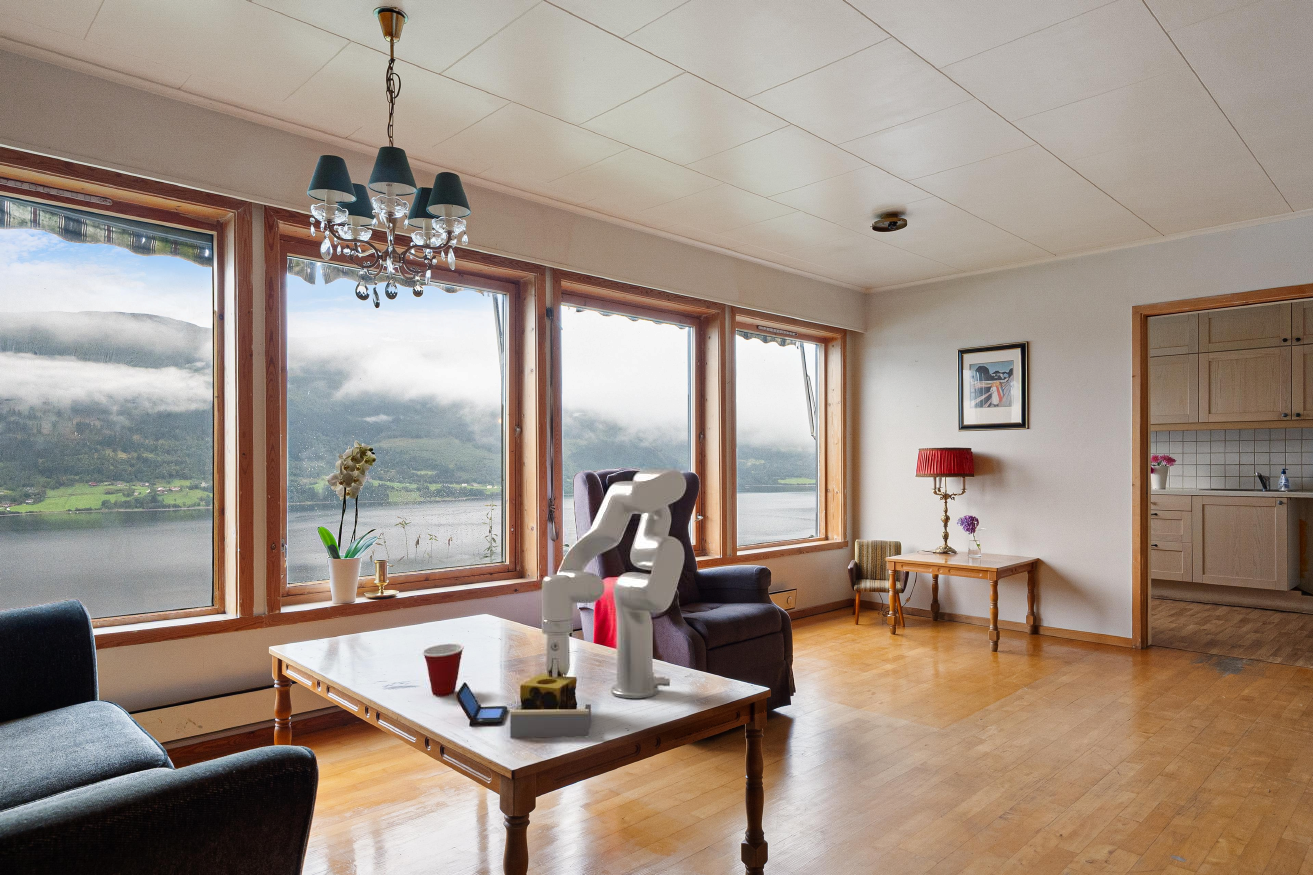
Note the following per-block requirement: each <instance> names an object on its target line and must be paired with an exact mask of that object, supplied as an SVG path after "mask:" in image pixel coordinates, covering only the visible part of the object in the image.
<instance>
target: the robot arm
mask: <svg viewBox="0 0 1313 875" xmlns="http://www.w3.org/2000/svg"><path fill="white" fill-rule="evenodd" d="M686 489H687V480H686V478H685V476H684V474H683V473H681V471H678V470H676V469H668V468H667V469H659V468H657V469H653V468H652V469H643V470H640V471H638V472H636V473H635V475H634V476H633V478H632V480H629V481H628V480H625V481H624V480H623V481H616V482H614V483H612V484H611V485H610V487H609V488H608V489H607V492H606V494H605V495H604V498H603V500H602V501H601V504H600V506H599V509H598V511H597V514H596V515H595V518H594V520H593V522H592V523H591V526H590V527H589V530H587V532H586V533H585V534H583V535H582V536H581V537H579V539H578V540H577V541H576V542H575V543H574V544H573V545H572V546H571V547H570V549H568V551H567V552H566V554H565V555H564V557H563V558H562V561H561V562H560V565H559V568H558V569H557V572H556V574H550V575H549V574H548V575H546V576H544V577H543V579H542V582H541V601H542V602H541V633H542V634H544V635H546V642H545V644H546V645H545V646H546V648H545V649H546V650H545V652H546V653H545V654H546V655H545V660H546V661H545V663H546V664H545V665H546V675H548V676H549V675H552V677H558V676H567V675H568V674H569V671H570V668H571V666H570V665H571V662H570V661H571V660H570V656H571V655H570V634H572V633H573V630H574V624H573V623H574V622H573V621H574V620H573V618H574V613H573V612H574V604H575V603H576V604H592V603H596V602H597V601H598V600H600V599H601V598H602V597H603V595H604V593H605V588H606V586H605V583H604V580H603V579H602V577H601V576H599V575H598V574H596V573H594V572H589V571H585V570H586V568H587V567H588V565H590V562H592V560H593V559H595V558H596V557H598V556H599V555H601V554H603V553H605V552H607V551H609V550H611V549H613V548H614V547H617V546H618V545H619V544H620V542H621V540H622V538H623V536H624V533H625V531H626V529H627V527H628V525H629V522H630V520H631V518H632V516H633V515H634V514H636V515H637V514H638V515H640V520H639V524H638V527H637V531H636V533H635V536H634V539H633V542H632V546H631V548H630V552H629V553H630V555H629V556H630V557H629V558H630V562H631V563H632V565H633V566H634V567H635V568H639V569H642V570H646V571H651V573H643V572H636V571H631V572H624V573H623V574H621V575H619V576H618V577H617V579H616V580H615V582H614V583H613V584H614V585H613V588H612V589H613V601H614V605H615V611H616V612H615V613H616V684H614V685H613V686H611V688H610V692H611V694H612V695H613V696H615V697H617V698H623V699H644V698H645V699H646V698H649V697H650V698H651V697H653V696H655V695H657V694H658V693H659V686H661V687H662V686H663V687H670V686H671V683H670V682H671V681H670V677H669V678H668V677H667V678H665V676H664V677H663V676H660V677H657V676H655V674H654V670H653V663H654V662H653V656H654V655H653V650H654V649H653V643H654V642H653V634H654V633H653V632H654V630H653V627H654V626H653V620H652V616H651V613H654V614H655V613H656V614H659V613H663V612H665V611H666V610H668V609H669V607H670V606H671V605H672V602H673V600H674V598H675V594H676V591H677V588H678V585H679V584H678V583H679V580H680V578H681V576H682V575H681V574H682V572H683V571H682V570H683V567H684V564H685V550H684V546H683V544H682V542H681V540H679V539H677V538H676V537H674V536H670V535H669V532H670V528H671V524H672V515H671V511H670V507H669V505H671V504H673V503H675V502H677V501H678V500H680V499H682V497H683V496H684V494H685V492H686Z"/></svg>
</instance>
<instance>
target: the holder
mask: <svg viewBox="0 0 1313 875" xmlns="http://www.w3.org/2000/svg"><path fill="white" fill-rule="evenodd" d="M591 723H592V704H589V703H588V704H585V707H584V708H577V709H558V710H521V704H517V705H516V707H515V709H511V710H510V727H509V730H510V732H509V734H510V739H511V738H562V737H561V736H566V737H565V738H568V737H569V738H572V737H573V738H575V737H574V736H578V737H579V736H588V735H589V734H590V730H589V729H591ZM557 736H559V737H557ZM570 736H571V737H570ZM588 737H589V736H588Z"/></svg>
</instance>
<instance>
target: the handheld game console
mask: <svg viewBox="0 0 1313 875" xmlns="http://www.w3.org/2000/svg"><path fill="white" fill-rule="evenodd" d="M455 698H456V699H455V700H457V702H458V704H459V706H460V707H461V709H462V711H463V713H464V715H465V716H466V717H467V719H468V720H469V726H470V727H485V726H488V727H492V726H494V727H495V726H500V725H502V723H503V721H504V719H505V717H506V714H507V712H508V706H507V705H501V706H500V705H494V706H491V705H489V706H482V704H481V703H479V701H478V700H477V699H476V696H475V695H474V693H473V691H472V690H471V688H470V686H469V685H468V683H466V682H463V683H462V685H461V686H460V688H459V689H458V691H457V692H456V694H455Z"/></svg>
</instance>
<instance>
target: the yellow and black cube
mask: <svg viewBox="0 0 1313 875" xmlns="http://www.w3.org/2000/svg"><path fill="white" fill-rule="evenodd" d="M577 681H578V680H577V676H567V675H566V676H564V675H563V676H558V677H552V675H549V676H548V675H547V674H541V673H540V674H538V675H536V676H534V677H532V678H531V679H528V680H526V681H524V682H522V683H521V684H520V685H519V689H520V690H519V691H520V695H519V699H520V705H521V710H558V709H578V700H577V697H576V690H577Z"/></svg>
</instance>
